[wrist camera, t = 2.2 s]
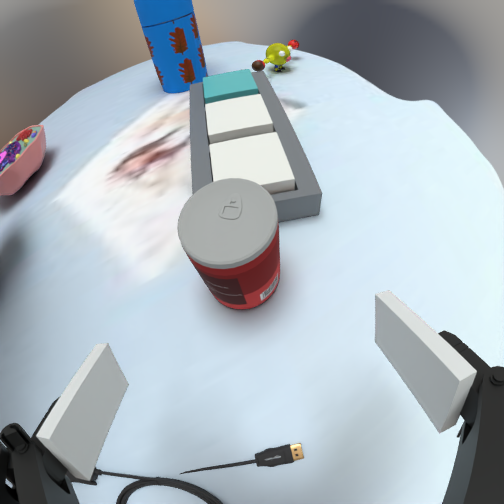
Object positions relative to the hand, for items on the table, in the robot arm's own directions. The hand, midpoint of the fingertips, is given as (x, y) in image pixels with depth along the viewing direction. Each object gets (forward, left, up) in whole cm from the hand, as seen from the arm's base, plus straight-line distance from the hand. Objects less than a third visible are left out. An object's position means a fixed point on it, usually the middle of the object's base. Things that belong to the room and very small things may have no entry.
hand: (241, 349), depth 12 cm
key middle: (+3, +32, -13) cm, 35 cm away
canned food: (0, +10, -15) cm, 18 cm away
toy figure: (+15, +56, -15) cm, 60 cm away
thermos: (-6, +59, -15) cm, 62 cm away
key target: (+3, +43, -13) cm, 45 cm away
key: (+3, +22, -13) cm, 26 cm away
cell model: (-45, +43, -15) cm, 64 cm away
